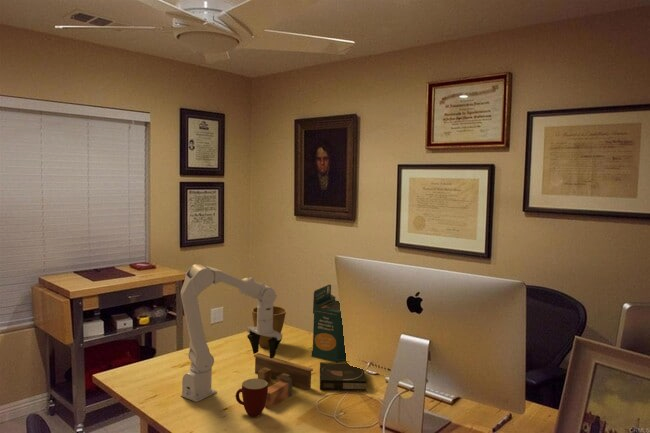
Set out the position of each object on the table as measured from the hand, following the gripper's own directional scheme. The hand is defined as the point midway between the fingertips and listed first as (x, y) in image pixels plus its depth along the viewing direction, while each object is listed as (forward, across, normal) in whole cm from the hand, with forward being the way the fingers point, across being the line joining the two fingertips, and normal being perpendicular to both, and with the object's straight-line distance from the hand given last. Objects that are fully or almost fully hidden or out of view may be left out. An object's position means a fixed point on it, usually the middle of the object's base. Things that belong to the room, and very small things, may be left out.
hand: (263, 355), depth 178 cm
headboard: (+10, -5, -1) cm, 11 cm away
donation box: (+10, -9, -39) cm, 42 cm away
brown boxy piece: (+10, -13, +9) cm, 19 cm away
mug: (+10, -12, +22) cm, 27 cm away
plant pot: (+10, +21, -31) cm, 39 cm away
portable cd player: (+10, -24, -17) cm, 31 cm away
